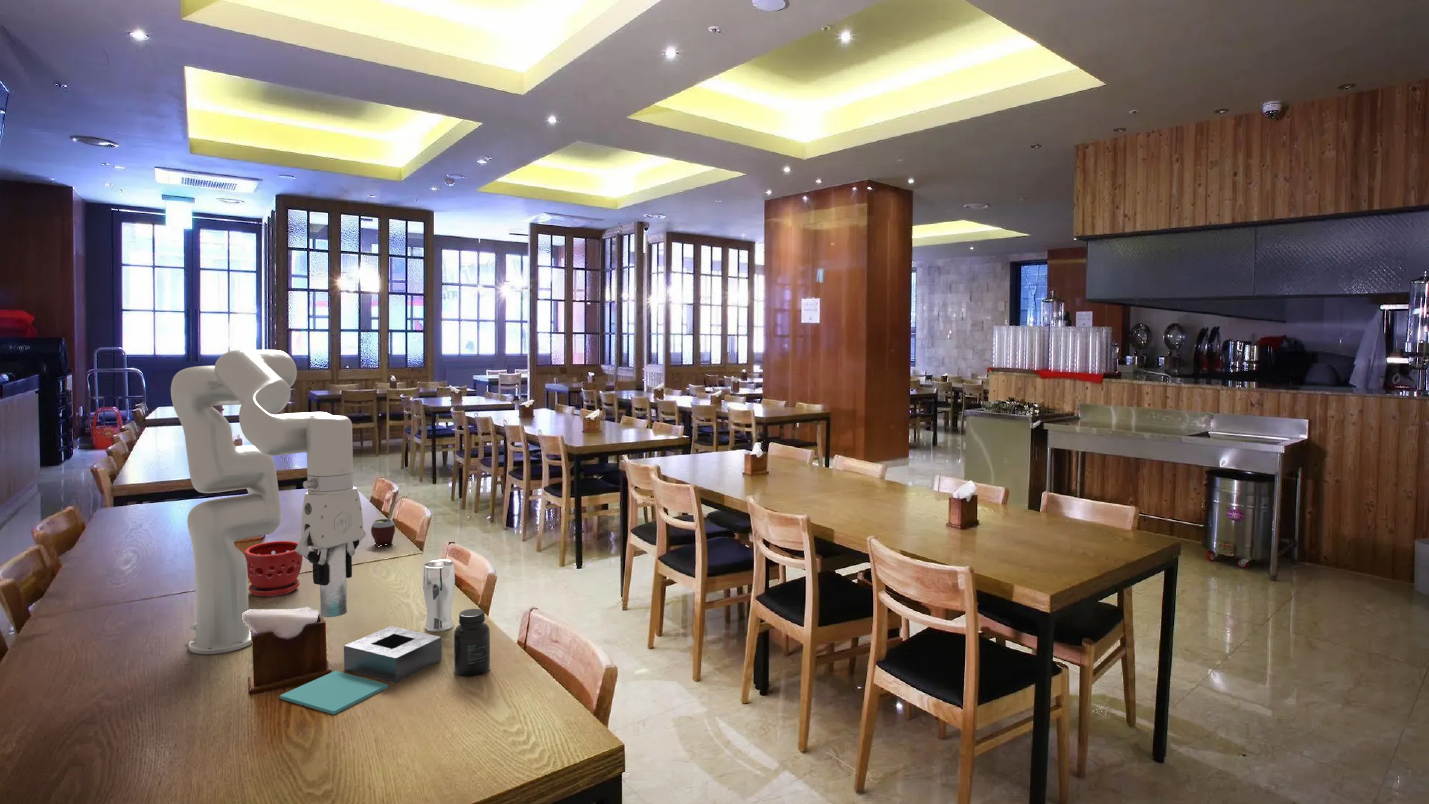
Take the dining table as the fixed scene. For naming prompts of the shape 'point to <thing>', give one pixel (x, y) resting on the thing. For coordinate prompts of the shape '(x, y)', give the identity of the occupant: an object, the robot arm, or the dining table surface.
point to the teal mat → (334, 692)
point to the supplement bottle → (471, 644)
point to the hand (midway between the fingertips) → (332, 579)
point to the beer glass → (438, 594)
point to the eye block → (392, 654)
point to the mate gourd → (384, 529)
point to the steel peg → (334, 583)
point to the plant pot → (273, 568)
